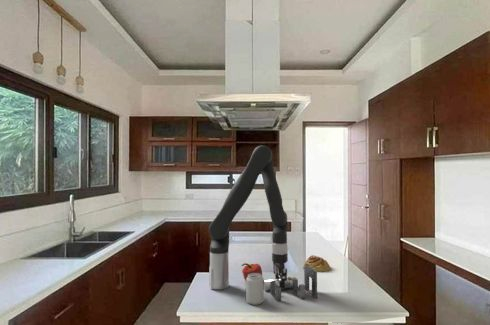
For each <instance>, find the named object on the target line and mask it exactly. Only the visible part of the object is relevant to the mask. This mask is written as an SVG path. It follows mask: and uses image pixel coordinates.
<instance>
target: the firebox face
mask: <svg viewBox="0 0 490 325" xmlns="http://www.w3.org/2000/svg"><path fill="white" fill-rule="evenodd" d="M303 266H304V269H303V271H304V273H303V274H304V275H303V276H304V279H303V280H304V283H303V284H304V285H305V292H307V293H308V294H309V295H310V294H311V295H312V296H313V297H312V296H311V295H310V296H311V297H312V298H314V299H315V300H317V299H318V272H317V271H315V270H314V269H312V268H311V267H309V266H308V265H307V264H304V263H303ZM310 278H311V290H310ZM316 298H317V299H316Z"/></svg>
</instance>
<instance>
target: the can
mask: <svg viewBox="0 0 490 325" xmlns="http://www.w3.org/2000/svg"><path fill="white" fill-rule="evenodd" d="M263 280H264V277H263V274H262V275H261V274H259V273H250V274H248V277H247V278H246V281H245V282H246V284H245V294H246V295H245V296H246V297H245V298H246V302H247V303H248V304H249V305H252V306H256V305H257V306H258V305H260V304H262V303H263V302H264V289H263Z"/></svg>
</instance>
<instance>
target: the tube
mask: <svg viewBox="0 0 490 325" xmlns="http://www.w3.org/2000/svg"><path fill="white" fill-rule="evenodd" d="M296 278H297V277H295V276H292V277H291V276H287V281H285V289H284V290H288V289H289V290H290V289H291V290H292V289H293V279H296ZM273 280H274V281H275V291H276V287H278V286H280V279H275V278H273V279H272V278H271V279H263V292H267V291H268V292H270V281H273Z"/></svg>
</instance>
